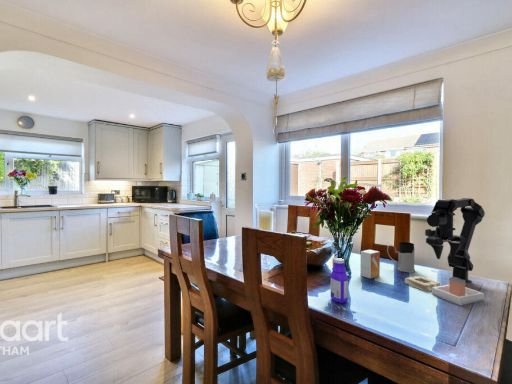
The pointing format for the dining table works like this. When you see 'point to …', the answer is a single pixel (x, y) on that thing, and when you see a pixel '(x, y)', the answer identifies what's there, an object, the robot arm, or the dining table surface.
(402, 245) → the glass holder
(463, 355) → the dining table surface
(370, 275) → the small box
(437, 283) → the socket
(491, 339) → the dining table surface
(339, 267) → the bottle
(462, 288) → the block
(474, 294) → the parts tray
